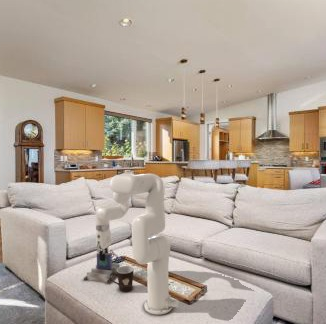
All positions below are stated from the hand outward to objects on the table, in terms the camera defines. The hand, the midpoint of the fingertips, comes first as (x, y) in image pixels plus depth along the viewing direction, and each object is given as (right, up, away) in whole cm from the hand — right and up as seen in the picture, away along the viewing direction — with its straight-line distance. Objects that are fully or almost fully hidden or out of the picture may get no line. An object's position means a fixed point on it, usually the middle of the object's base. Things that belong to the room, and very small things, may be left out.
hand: (103, 259), depth 146 cm
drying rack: (0, -9, +1) cm, 9 cm away
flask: (0, -6, 0) cm, 6 cm away
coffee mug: (+13, -10, -15) cm, 22 cm away
